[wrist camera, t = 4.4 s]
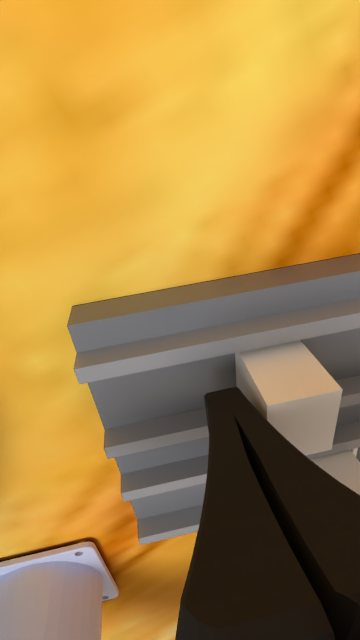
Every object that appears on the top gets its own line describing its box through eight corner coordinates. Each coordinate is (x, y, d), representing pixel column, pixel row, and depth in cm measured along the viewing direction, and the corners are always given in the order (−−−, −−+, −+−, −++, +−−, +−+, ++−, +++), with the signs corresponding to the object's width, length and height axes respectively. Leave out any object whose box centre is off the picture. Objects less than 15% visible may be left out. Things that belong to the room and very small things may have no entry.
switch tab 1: (236, 398, 15) (265, 464, 12) (234, 344, 13) (267, 405, 10) (290, 386, 15) (331, 449, 12) (294, 332, 13) (342, 389, 10)
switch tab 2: (294, 481, 19) (326, 545, 16) (298, 448, 17) (334, 512, 14) (335, 472, 19) (374, 533, 16) (342, 438, 17) (387, 500, 15)
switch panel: (142, 511, 21) (144, 555, 19) (72, 306, 13) (62, 341, 11) (349, 462, 22) (374, 499, 20) (401, 245, 14) (453, 266, 12)
